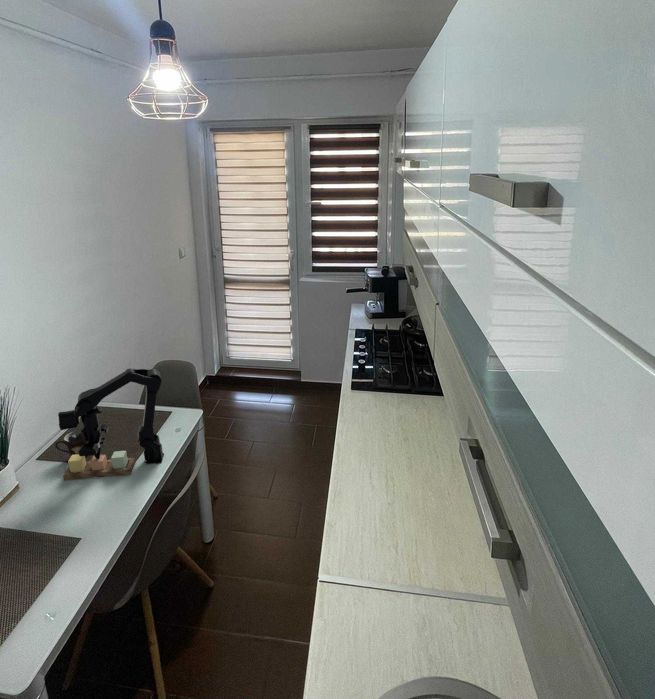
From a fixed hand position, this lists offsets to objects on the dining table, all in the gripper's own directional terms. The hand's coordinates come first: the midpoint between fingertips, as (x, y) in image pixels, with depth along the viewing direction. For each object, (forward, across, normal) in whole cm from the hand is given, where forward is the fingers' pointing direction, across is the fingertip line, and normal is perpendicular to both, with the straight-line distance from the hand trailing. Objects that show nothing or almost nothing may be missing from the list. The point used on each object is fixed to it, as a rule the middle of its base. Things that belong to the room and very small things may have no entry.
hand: (98, 458), depth 194 cm
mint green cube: (+4, 0, +8) cm, 9 cm away
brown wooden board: (+6, 0, 0) cm, 6 cm away
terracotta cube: (+5, 0, 0) cm, 5 cm away
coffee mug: (+6, -12, -13) cm, 19 cm away
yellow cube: (+4, 0, -8) cm, 9 cm away
